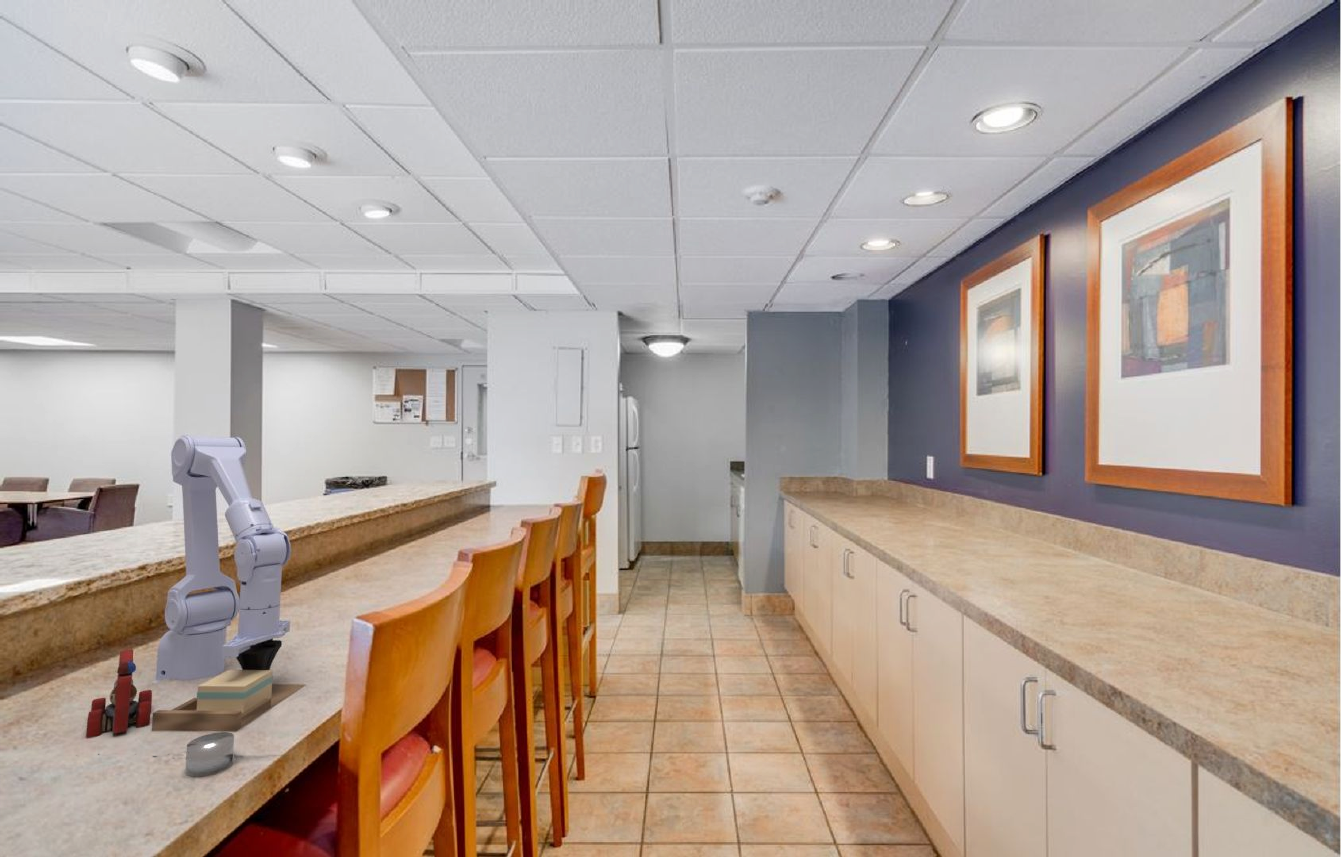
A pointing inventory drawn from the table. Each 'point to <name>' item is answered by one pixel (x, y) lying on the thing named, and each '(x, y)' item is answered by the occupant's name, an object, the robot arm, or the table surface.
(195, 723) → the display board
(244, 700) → the carton
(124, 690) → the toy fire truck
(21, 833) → the table surface
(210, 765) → the grey tin
